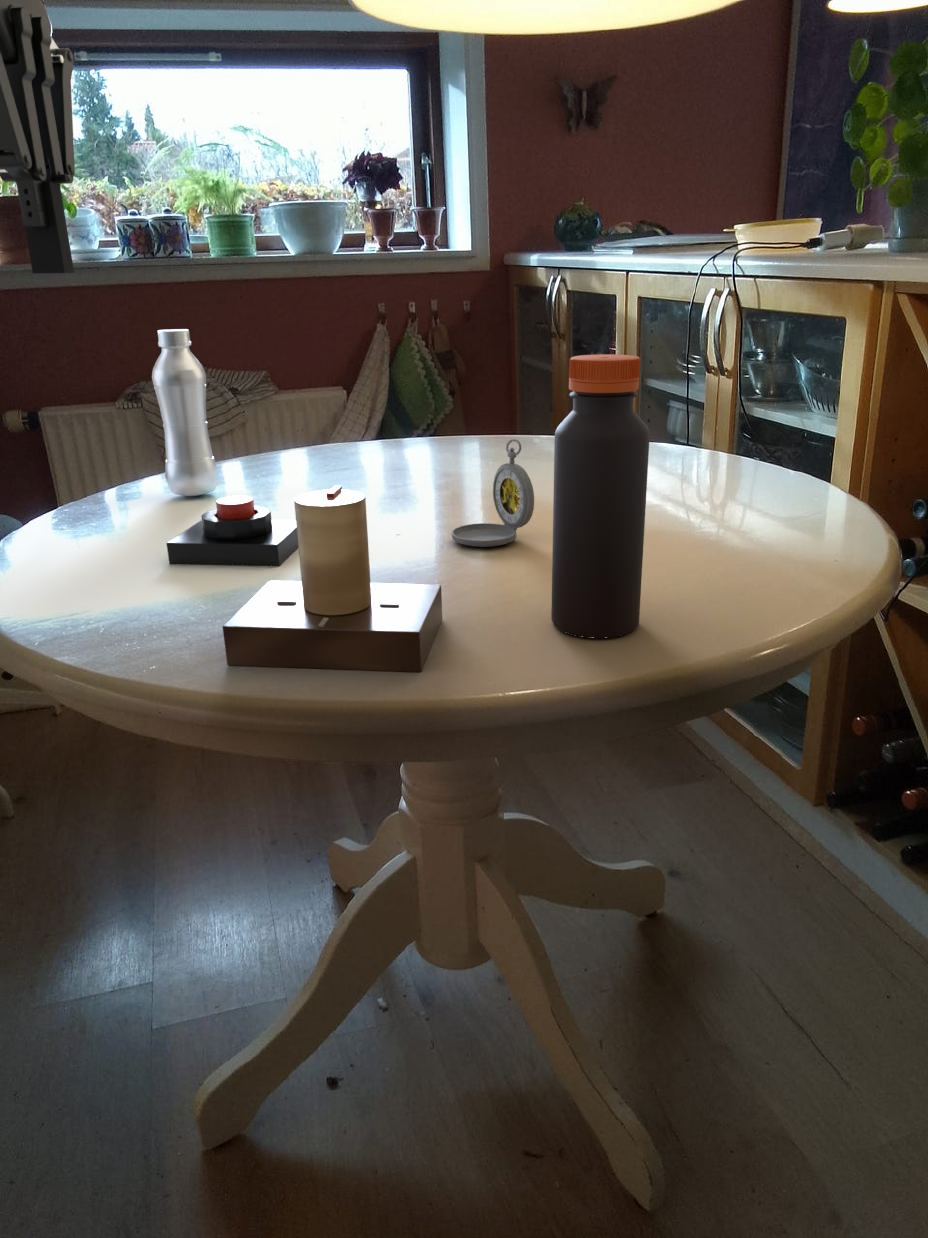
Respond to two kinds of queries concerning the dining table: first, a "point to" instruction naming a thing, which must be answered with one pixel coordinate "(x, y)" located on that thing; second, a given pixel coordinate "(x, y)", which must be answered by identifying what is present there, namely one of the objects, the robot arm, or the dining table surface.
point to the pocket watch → (503, 507)
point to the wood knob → (333, 551)
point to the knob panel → (336, 630)
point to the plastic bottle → (184, 416)
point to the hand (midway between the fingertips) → (53, 272)
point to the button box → (235, 541)
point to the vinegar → (599, 500)
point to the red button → (235, 507)
